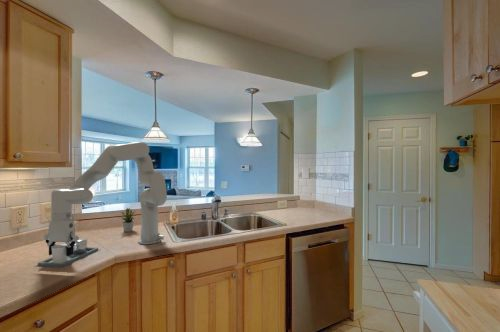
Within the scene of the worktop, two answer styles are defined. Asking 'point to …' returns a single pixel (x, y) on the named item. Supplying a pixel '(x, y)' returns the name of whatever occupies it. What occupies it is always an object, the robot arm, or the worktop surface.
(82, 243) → the block
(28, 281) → the worktop surface
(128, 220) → the house plant
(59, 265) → the divided tray
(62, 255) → the white cylinder
